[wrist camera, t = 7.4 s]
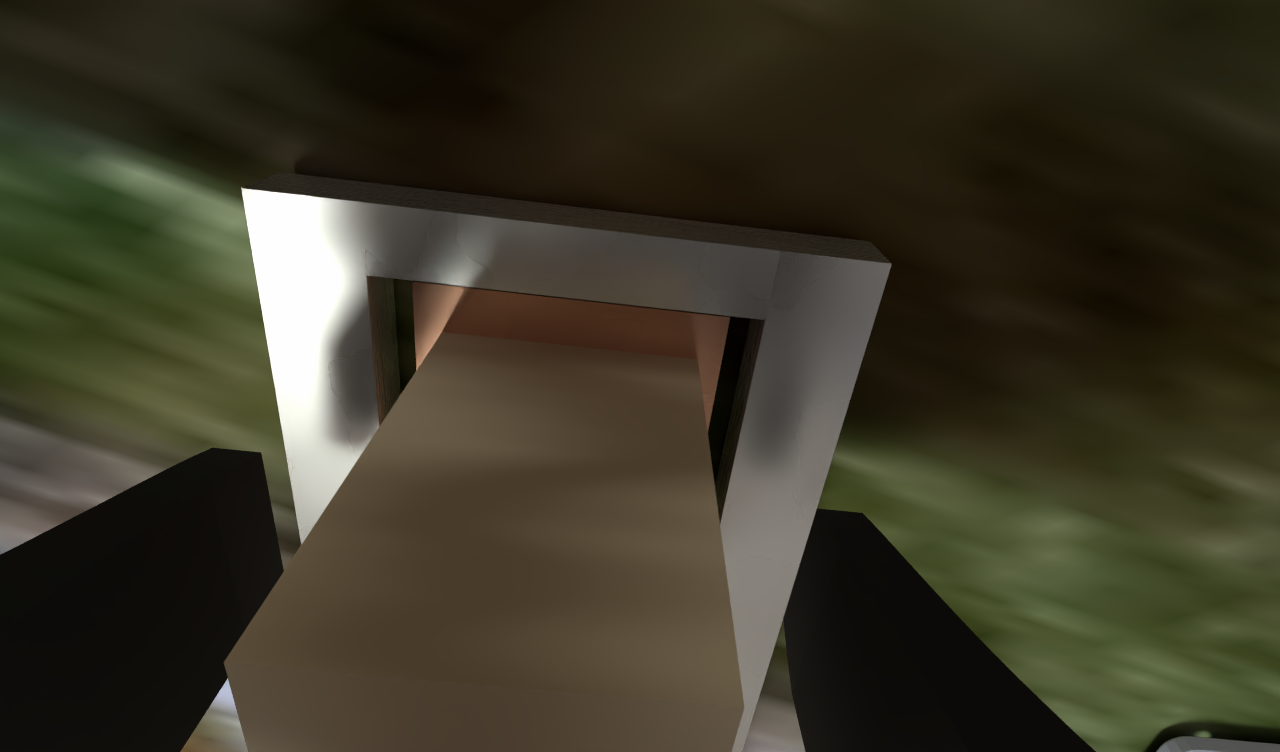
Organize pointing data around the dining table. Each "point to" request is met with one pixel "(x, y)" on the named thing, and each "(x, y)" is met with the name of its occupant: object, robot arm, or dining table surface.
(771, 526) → the white rectangular slotted frame
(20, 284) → the dining table surface
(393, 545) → the block
